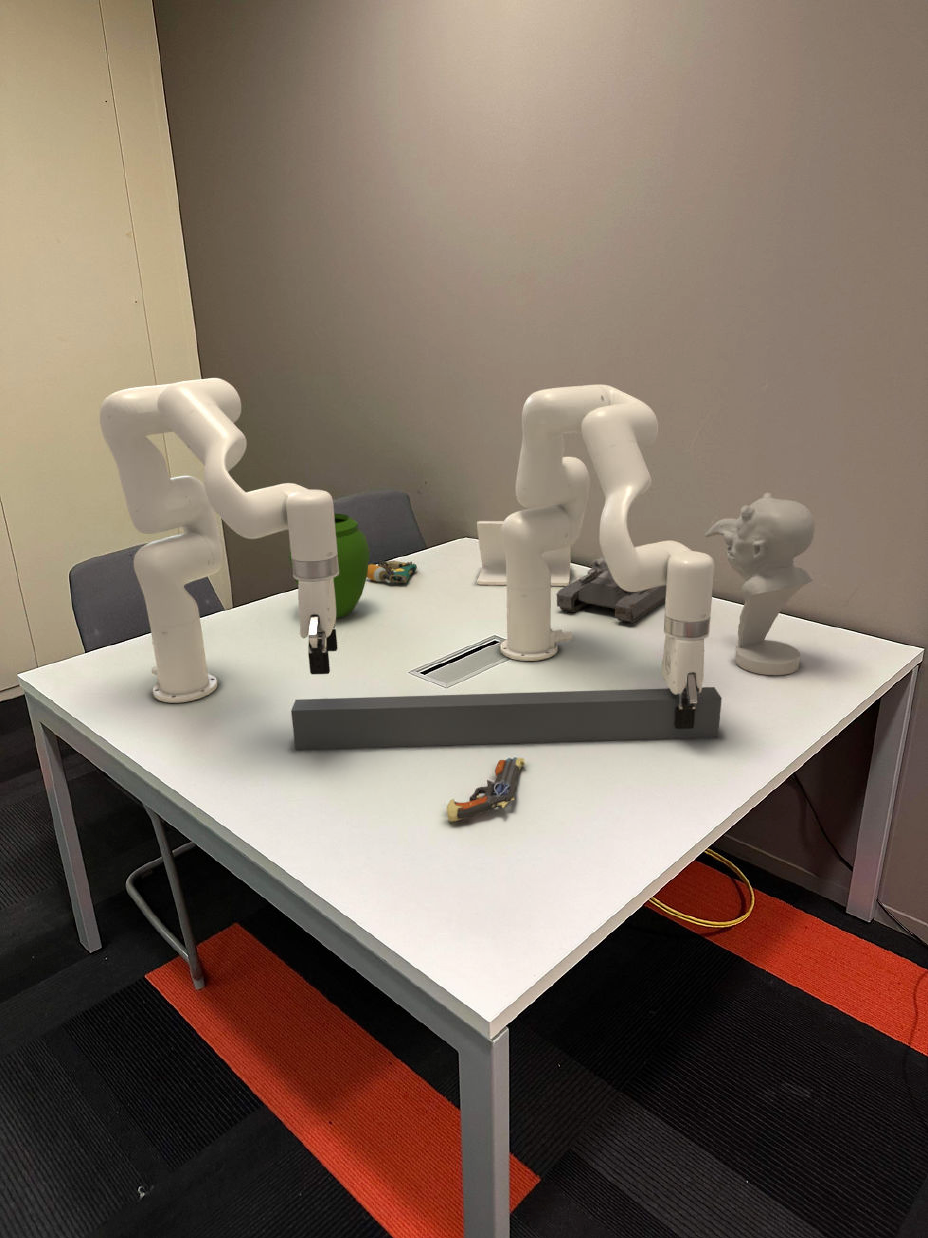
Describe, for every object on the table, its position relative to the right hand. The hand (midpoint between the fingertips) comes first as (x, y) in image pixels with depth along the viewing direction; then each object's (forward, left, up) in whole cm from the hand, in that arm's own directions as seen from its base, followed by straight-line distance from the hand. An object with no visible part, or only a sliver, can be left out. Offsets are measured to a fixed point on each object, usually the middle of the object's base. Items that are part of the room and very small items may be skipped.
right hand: (680, 720), depth 151 cm
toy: (-14, -65, -2) cm, 67 cm away
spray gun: (+36, -105, -2) cm, 111 cm away
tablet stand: (0, -96, -2) cm, 96 cm away
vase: (+55, -79, -2) cm, 97 cm away
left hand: (+61, -13, +13) cm, 63 cm away
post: (+30, -6, -2) cm, 31 cm away
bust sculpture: (-28, -25, -2) cm, 38 cm away
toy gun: (+38, +11, -2) cm, 39 cm away
